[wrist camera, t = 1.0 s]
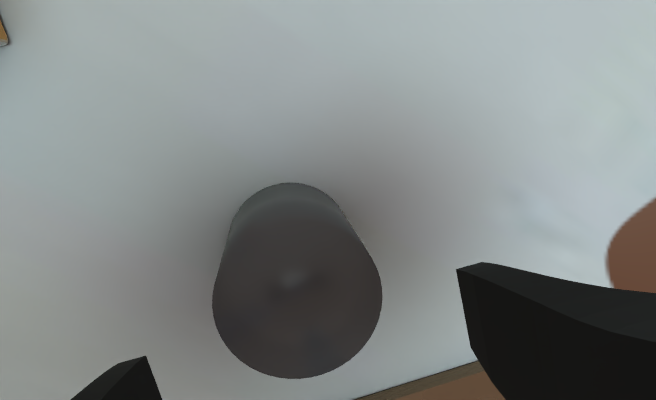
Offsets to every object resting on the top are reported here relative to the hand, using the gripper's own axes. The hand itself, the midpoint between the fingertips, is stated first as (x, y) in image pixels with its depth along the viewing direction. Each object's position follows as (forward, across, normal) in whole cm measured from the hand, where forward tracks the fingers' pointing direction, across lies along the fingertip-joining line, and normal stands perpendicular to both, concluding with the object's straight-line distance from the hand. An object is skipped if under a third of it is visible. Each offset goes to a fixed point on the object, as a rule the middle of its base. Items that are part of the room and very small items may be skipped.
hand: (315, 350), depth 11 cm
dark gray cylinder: (+10, 0, 0) cm, 10 cm away
